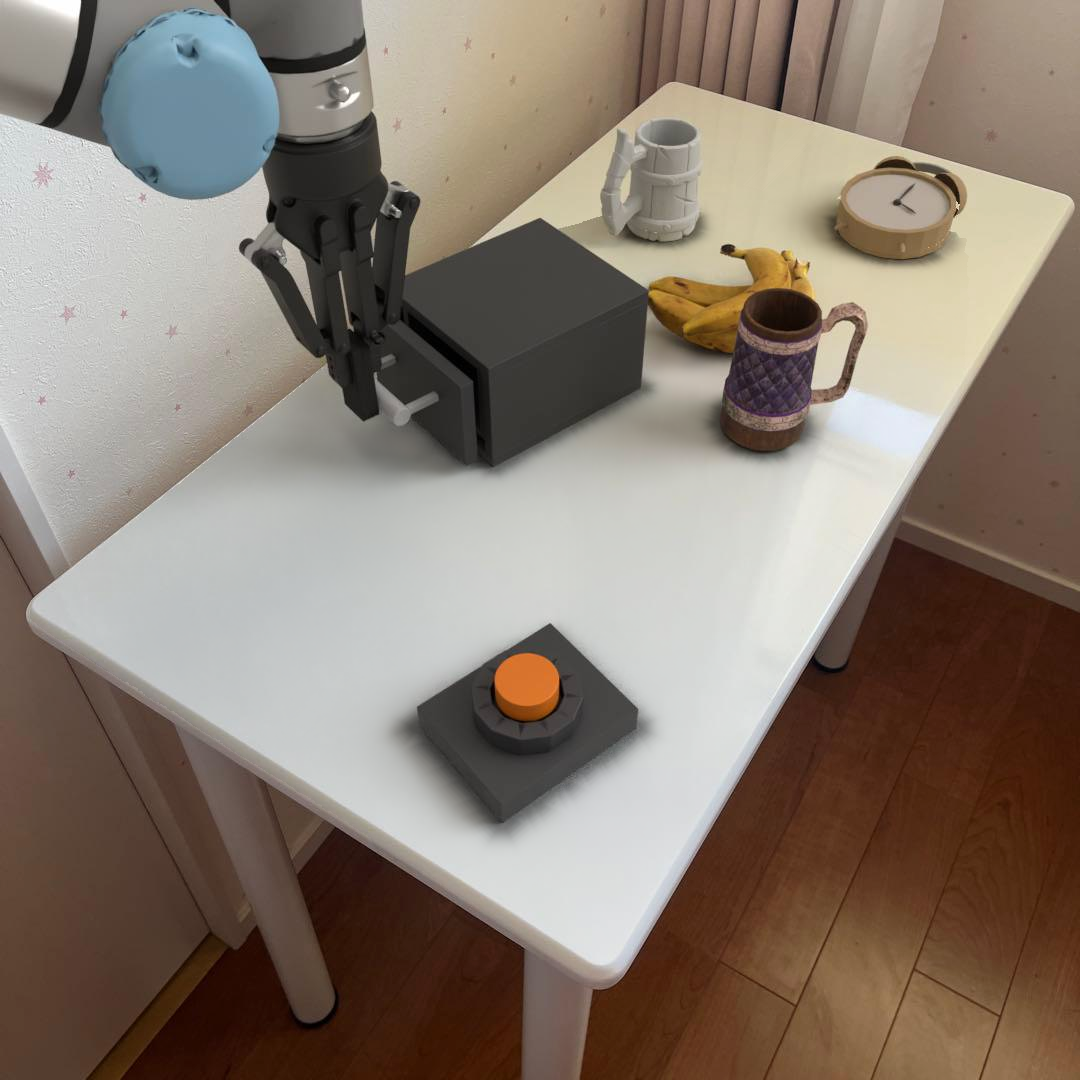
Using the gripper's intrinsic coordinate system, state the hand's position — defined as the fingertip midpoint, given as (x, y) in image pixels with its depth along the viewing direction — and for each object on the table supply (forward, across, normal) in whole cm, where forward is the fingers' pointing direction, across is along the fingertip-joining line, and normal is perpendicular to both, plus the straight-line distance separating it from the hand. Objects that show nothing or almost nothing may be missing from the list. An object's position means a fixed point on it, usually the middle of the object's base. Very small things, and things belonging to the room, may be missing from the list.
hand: (362, 408), depth 85 cm
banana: (+6, +37, -4) cm, 37 cm away
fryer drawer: (+4, +10, 0) cm, 11 cm away
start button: (+2, -6, -28) cm, 29 cm away
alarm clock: (+6, +62, -4) cm, 62 cm away
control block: (+5, -6, -28) cm, 29 cm away
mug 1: (+6, +40, +12) cm, 43 cm away
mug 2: (+6, +29, -18) cm, 34 cm away
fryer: (+5, +15, 0) cm, 16 cm away
